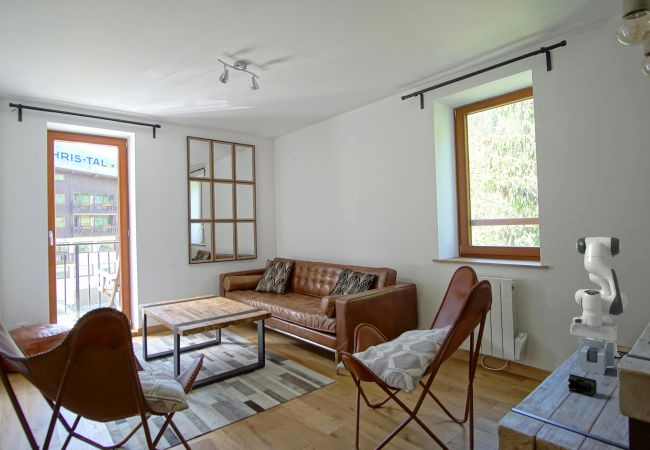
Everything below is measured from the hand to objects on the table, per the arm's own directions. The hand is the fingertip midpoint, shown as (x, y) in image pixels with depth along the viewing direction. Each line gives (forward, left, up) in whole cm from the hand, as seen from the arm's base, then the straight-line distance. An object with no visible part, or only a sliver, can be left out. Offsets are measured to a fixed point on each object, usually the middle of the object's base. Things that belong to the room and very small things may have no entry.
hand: (593, 346), depth 195 cm
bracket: (0, 0, -7) cm, 7 cm away
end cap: (+39, 0, -13) cm, 41 cm away
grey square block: (-2, 0, -12) cm, 12 cm away
